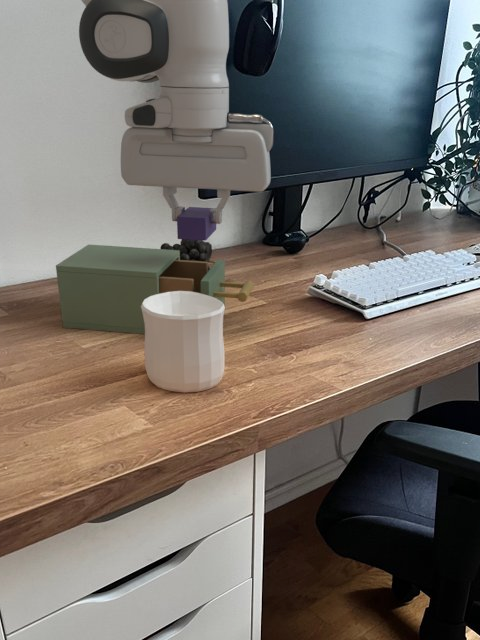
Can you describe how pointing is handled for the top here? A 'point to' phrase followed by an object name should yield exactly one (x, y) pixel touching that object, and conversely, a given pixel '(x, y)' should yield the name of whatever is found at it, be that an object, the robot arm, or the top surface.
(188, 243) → the fruit
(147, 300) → the cup
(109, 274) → the cabinet
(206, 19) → the robot arm
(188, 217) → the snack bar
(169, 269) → the drawer
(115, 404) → the top surface
